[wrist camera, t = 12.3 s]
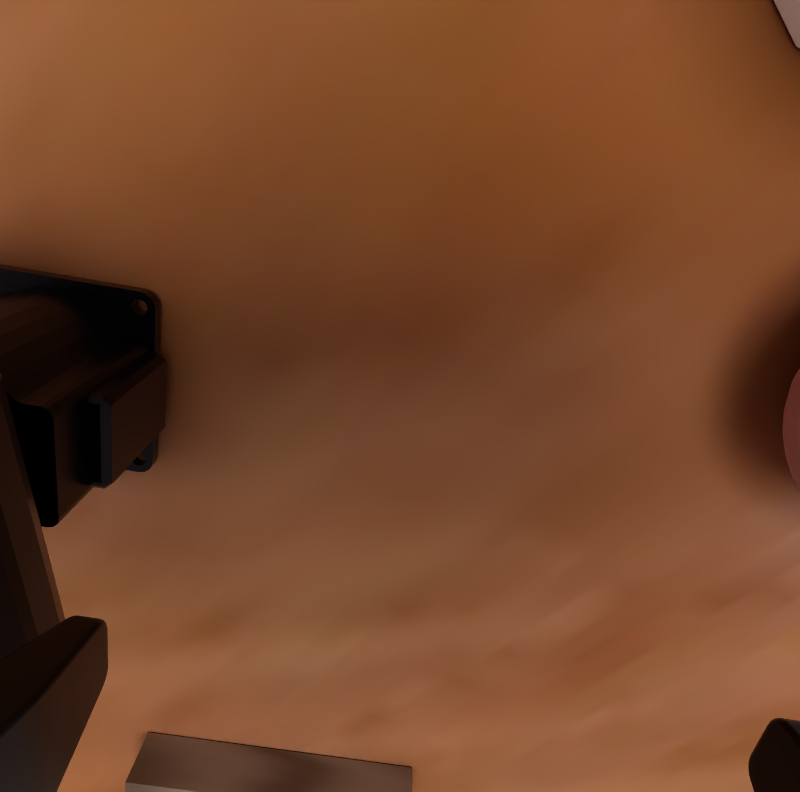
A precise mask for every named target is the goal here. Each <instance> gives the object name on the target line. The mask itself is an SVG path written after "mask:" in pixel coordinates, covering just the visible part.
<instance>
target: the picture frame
mask: <svg viewBox="0 0 800 792" xmlns="http://www.w3.org/2000/svg"><path fill="white" fill-rule="evenodd" d="M125 792H412V768H411V767H404V766H396V765H389V764H381V763H374V762H366V761H359V760H351V759H344V758H337V757H329V756H322V755H314V754H307V753H299V752H292V751H284V750H277V749H269V748H262V747H254V746H247V745H240V744H232V743H225V742H217V741H210V740H202V739H195V738H187V737H180V736H172V735H165V734H158V733H150V732H148V734H147V736H146V739H145V741H144V743H143V745H142V747H141V750H140V752H139V754H138V756H137V758H136V760H135V763H134V765H133V767H132V769H131V771H130V774H129V776H128V778H127V780H126V782H125Z"/></svg>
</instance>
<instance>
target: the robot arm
mask: <svg viewBox="0 0 800 792" xmlns="http://www.w3.org/2000/svg"><path fill="white" fill-rule="evenodd" d="M137 299H140V300H143V301H144V302H145V303H146V304H147V308H148V309H147V312H143V311H141V310H140V309H139V308H138V307H137ZM159 343H160V303H159V300H158V298H157V297H156V295H155V294H153V293H152V292H151V291H149V290H146V289H141V288H136V287H130V286H124V285H118V284H112V283H106V282H100V281H94V280H88V279H82V278H76V277H70V276H64V275H58V274H52V273H47V272H41V271H35V270H29V269H23V268H17V267H11V266H5V265H0V792H57V790H58V788H59V785H60V783H61V781H62V778H63V776H64V774H65V772H66V769H67V767H68V765H69V763H70V760H71V758H72V756H73V753H74V751H75V749H76V747H77V744H78V742H79V740H80V737H81V735H82V733H83V731H84V728H85V726H86V724H87V722H88V719H89V717H90V715H91V712H92V710H93V708H94V706H95V703H96V701H97V699H98V697H99V694H100V692H101V690H102V687H103V685H104V682H105V679H106V675H107V670H108V637H107V625H106V622H105V621H104V620H102V619H98V618H91V617H84V616H72V617H69V618H67V619H65V617H64V613H63V609H62V605H61V601H60V597H59V594H58V590H57V586H56V582H55V578H54V574H53V570H52V567H51V563H50V559H49V555H48V551H47V547H46V543H45V540H44V536H43V532H42V528H41V526H43V527H54V526H55V525H57V524H58V523H59V522H60V521H61V520H62V519H63V518H64V517H65V516H66V515H67V514H68V513H69V512H70V510H71V509H72V508H73V507H74V506H75V505H76V504H77V503H78V502H79V501H80V500H81V499H82V498H83V497H84V496H85V495H86V494H87V493H88V492H89V491H90V490H91V489H92V488H93V487H98V488H106V487H108V486H109V485H110V484H112V483H113V482H114V481H115V480H116V479H117V478H118V477H119V476H120V475H121V474H122V473H123V472H124V471H125V470H130V471H136V472H144V471H147V470H149V469H150V468H151V466H152V465H153V464H154V463H155V462H156V460H157V451H158V434H159V433H160V432H161V430H162V429H163V428H164V427H165V410H166V367H167V362H166V360H165V359H164V357H163V356H162V354H159ZM139 454H142V455H143V456H144V457H145V459H146V460H144V461H143V460H141V459H139V458H138V457H137V456H138V455H139ZM749 776H750V780H751V783H752V786H753V789H754V792H800V721H797V720H790V719H783V718H775V719H773V720H772V721H770V722H769V724H768V725H767V727H766V729H765V731H764V732H763V734H762V736H761V738H760V740H759V741H758V743H757V745H756V747H755V748H754V750H753V752H752V754H751V756H750V758H749Z"/></svg>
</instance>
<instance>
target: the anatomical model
mask: <svg viewBox="0 0 800 792" xmlns="http://www.w3.org/2000/svg"><path fill="white" fill-rule="evenodd" d="M782 434H783V442H784V450H785V456H786V459H787V463H788V466H789V469H790V472H791V475H792V478H793V480H794V483H795V485H796V487H797V489H798V492H799V494H800V368H799V370H798V372H797V373H796V375H795V377H794V379H793V380H792V383H791V387H790V390H789V394H788V397H787V401H786V404H785V408H784V415H783V430H782Z"/></svg>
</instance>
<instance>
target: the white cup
mask: <svg viewBox="0 0 800 792" xmlns="http://www.w3.org/2000/svg"><path fill="white" fill-rule="evenodd" d="M774 2H775V5H776V7H777V9H778V11H779V13H780V15H781V17H782V19H783V21H784V23H785V25H786V27H787V29H788V31H789V33H790V35H791V37H792V39H793V41H794V43H795V45H796V47H798V48H799V49H800V0H774Z"/></svg>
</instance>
